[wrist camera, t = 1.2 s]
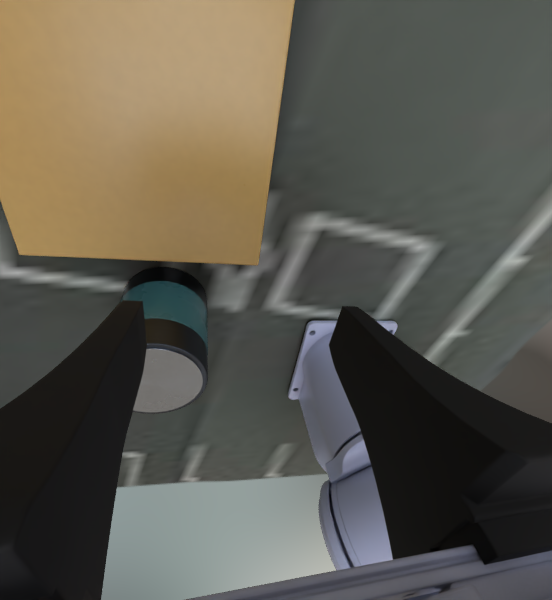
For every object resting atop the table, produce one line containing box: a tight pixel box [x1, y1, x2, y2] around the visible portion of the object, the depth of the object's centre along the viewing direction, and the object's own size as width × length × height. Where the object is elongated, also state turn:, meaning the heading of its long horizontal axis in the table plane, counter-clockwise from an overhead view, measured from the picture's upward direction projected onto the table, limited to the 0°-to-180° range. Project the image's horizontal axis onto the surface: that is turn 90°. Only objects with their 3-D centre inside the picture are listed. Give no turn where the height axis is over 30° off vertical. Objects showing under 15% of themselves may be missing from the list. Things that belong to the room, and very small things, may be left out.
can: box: [120, 267, 208, 414], centre depth 19 cm, size 5×5×7 cm
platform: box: [0, 0, 295, 265], centre depth 15 cm, size 12×12×2 cm
